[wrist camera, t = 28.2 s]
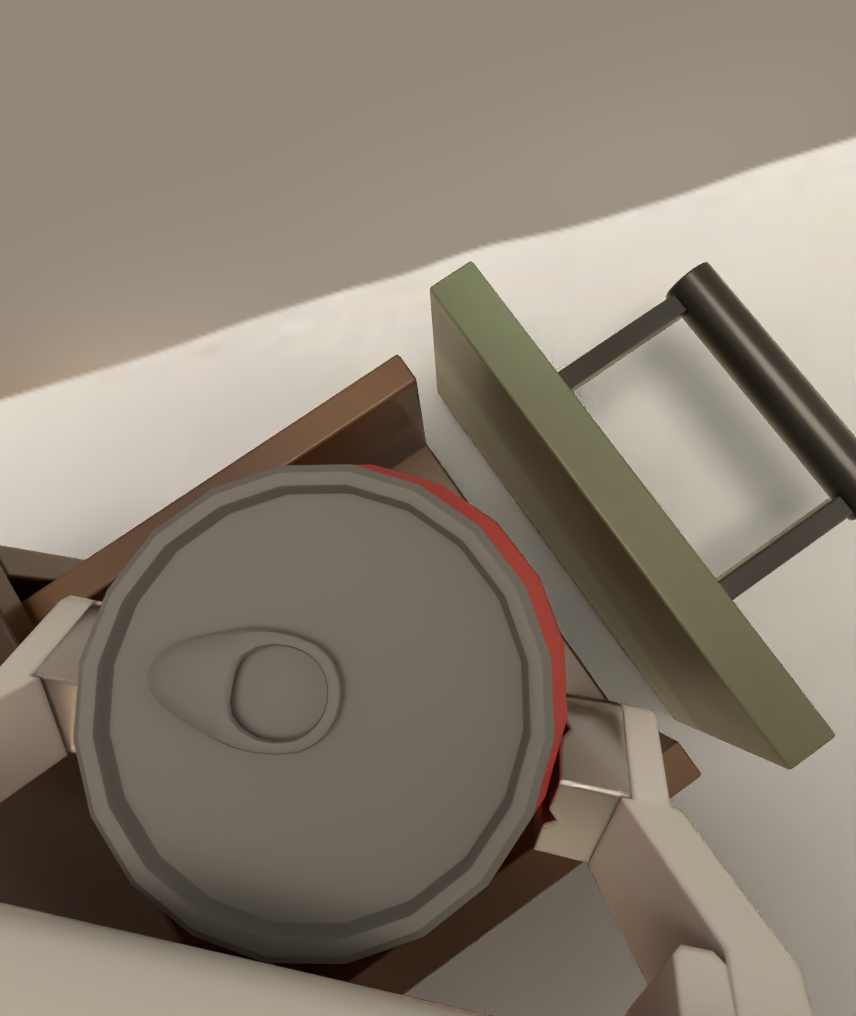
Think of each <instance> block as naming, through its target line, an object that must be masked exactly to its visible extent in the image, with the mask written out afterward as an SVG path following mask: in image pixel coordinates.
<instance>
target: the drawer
mask: <svg viewBox="0 0 856 1016" xmlns="http://www.w3.org/2000/svg"><path fill="white" fill-rule="evenodd" d="M430 297H431V311H432V324H433V338H434V351H435V365H436V378H437V391H438V394H439V395H440V396H441V398H442V399H443V401H444V402H445V403H446V405H447V406H448V407H449V409H450V410H451V412H452V413H453V414H454V416H455V417H456V418H457V420H458V421H459V423H460V424H461V425H462V427H463V428H464V430H465V431H466V432H467V434H468V435H469V436H470V438H471V439H472V441H473V442H474V443H475V445H476V446H477V447H478V449H479V450H480V452H481V453H482V454H483V456H484V457H485V458H486V460H487V461H488V463H489V464H490V465H491V467H492V468H493V470H494V471H495V472H496V474H497V475H498V476H499V478H500V479H501V481H502V482H503V483H504V485H505V486H506V487H507V489H508V490H509V492H510V493H511V494H512V496H513V497H514V498H515V500H516V501H517V503H518V504H519V505H520V507H521V508H522V510H523V511H524V512H525V514H526V515H527V516H528V518H529V519H530V521H531V522H532V523H533V525H534V526H535V527H536V529H537V530H538V532H539V533H540V534H541V536H542V537H543V539H544V540H545V541H546V543H547V544H548V545H549V547H550V548H551V550H552V551H553V552H554V554H555V555H556V556H557V558H558V559H559V561H560V562H561V563H562V565H563V566H564V567H565V569H566V570H567V572H568V573H569V574H570V576H571V577H572V579H573V580H574V581H575V583H576V584H577V585H578V587H579V588H580V590H581V591H582V592H583V594H584V595H585V596H586V598H587V599H588V601H589V602H590V603H591V605H592V606H593V608H594V609H595V610H596V612H597V613H598V614H599V616H600V617H601V619H602V620H603V621H604V623H605V624H606V625H607V627H608V628H609V630H610V631H611V632H612V634H613V635H614V636H615V638H616V639H617V641H618V642H619V643H620V645H621V646H622V648H623V649H624V650H625V652H626V653H627V654H628V656H629V657H630V659H631V660H632V661H633V663H634V664H635V665H636V667H637V668H638V670H639V671H640V672H641V674H642V675H643V676H644V678H645V679H646V681H647V682H648V683H649V685H650V686H651V688H652V689H653V690H654V692H655V693H656V694H657V696H658V697H659V699H660V700H661V701H662V703H663V704H664V705H665V707H666V708H667V710H668V711H669V712H670V714H671V715H672V717H673V718H674V719H675V720H677V721H679V722H682V723H684V724H686V725H688V726H691V727H693V728H695V729H697V730H700V731H702V732H704V733H707V734H709V735H711V736H713V737H716V738H718V739H720V740H723V741H725V742H727V743H729V744H732V745H734V746H736V747H738V748H741V749H743V750H745V751H748V752H750V753H752V754H754V755H757V756H759V757H761V758H764V759H766V760H768V761H770V762H773V763H775V764H777V765H779V766H782V767H784V768H786V769H792V768H794V767H795V766H796V765H798V764H799V763H800V762H802V761H803V760H804V759H806V758H807V757H809V756H810V755H811V754H813V753H814V752H815V751H817V750H818V749H819V748H821V747H822V746H823V745H825V744H826V743H827V742H829V741H830V740H831V739H833V738H834V737H835V734H834V732H833V731H832V730H831V728H830V727H829V726H828V724H827V723H826V722H825V720H824V719H823V718H822V717H821V715H820V714H819V713H818V711H817V710H816V709H815V707H814V706H813V705H812V704H811V702H810V701H809V700H808V698H807V697H806V696H805V694H804V693H803V692H802V690H801V689H800V688H799V687H798V685H797V684H796V683H795V681H794V680H793V679H792V677H791V676H790V675H789V674H788V672H787V671H786V670H785V668H784V667H783V666H782V664H781V663H780V662H779V661H778V659H777V658H776V657H775V655H774V654H773V653H772V651H771V650H770V649H769V647H768V646H767V645H766V644H765V642H764V641H763V640H762V638H761V637H760V636H759V634H758V633H757V632H756V631H755V629H754V628H753V627H752V625H751V624H750V623H749V621H748V620H747V619H746V618H745V616H744V615H743V614H742V612H741V611H740V610H739V608H738V607H737V606H736V604H735V603H734V602H733V601H732V600H733V599H735V598H736V597H738V596H739V595H740V594H742V593H743V592H745V591H746V590H747V589H749V588H750V587H752V586H753V585H754V584H756V583H757V582H758V581H760V580H761V579H763V578H764V577H765V576H767V575H768V574H770V573H771V572H772V571H774V570H775V569H777V568H778V567H779V566H781V565H782V564H784V563H785V562H786V561H788V560H789V559H791V558H792V557H793V556H795V555H796V554H798V553H799V552H800V551H802V550H803V549H804V548H806V547H807V546H809V545H810V544H811V543H813V542H814V541H816V540H817V539H818V538H820V537H821V536H823V535H824V534H825V533H827V532H828V531H830V530H831V529H832V528H834V527H835V526H837V525H838V524H839V523H841V522H842V521H844V520H845V519H846V518H847V519H848V520H855V519H856V437H855V436H854V434H853V433H852V432H851V431H850V430H849V429H848V427H847V426H846V425H845V424H844V423H843V421H842V420H841V419H840V418H839V417H838V416H837V414H836V413H835V412H834V411H833V410H832V408H831V407H830V406H829V405H828V404H827V403H826V401H825V400H824V399H823V398H822V397H821V395H820V394H819V393H818V392H817V391H816V390H815V388H814V387H813V386H812V385H811V384H810V382H809V381H808V380H807V379H806V378H805V377H804V375H803V374H802V373H801V372H800V371H799V369H798V368H797V367H796V366H795V365H794V363H793V362H792V361H791V360H790V359H789V358H788V356H787V355H786V354H785V353H784V352H783V350H782V349H781V348H780V347H779V346H778V345H777V343H776V342H775V341H774V340H773V339H772V337H771V336H770V335H769V334H768V333H767V332H766V330H765V329H764V328H763V327H762V326H761V324H760V323H759V322H758V321H757V320H756V319H755V317H754V316H753V315H752V314H751V313H750V311H749V310H748V309H747V308H746V307H745V306H744V304H743V303H742V302H741V301H740V300H739V298H738V297H737V296H736V295H735V294H734V292H733V291H732V290H731V289H730V288H729V287H728V285H727V284H726V283H725V282H724V281H723V279H722V278H721V277H720V276H719V275H718V274H717V272H716V271H715V270H714V269H713V268H712V266H711V265H710V264H709V263H707V262H705V263H702V264H700V265H698V266H697V267H695V268H694V269H692V270H691V271H689V272H688V273H687V274H686V275H684V276H683V277H682V278H681V279H680V280H679V281H678V282H677V283H676V284H675V285H674V286H673V287H672V288H671V289H670V290H669V292H668V293H667V295H666V298H667V299H666V300H665V301H663V302H662V303H660V304H659V305H657V306H656V307H654V308H653V309H651V310H650V311H648V312H647V313H645V314H644V315H642V316H641V317H639V318H638V319H636V320H635V321H633V322H632V323H630V324H629V325H627V326H626V327H625V328H623V329H622V330H620V331H619V332H617V333H616V334H614V335H613V336H611V337H610V338H608V339H607V340H605V341H604V342H602V343H601V344H599V345H598V346H596V347H595V348H593V349H592V350H590V351H589V352H587V353H586V354H585V355H583V356H582V357H580V358H579V359H577V360H576V361H574V362H573V363H571V364H570V365H568V366H567V367H565V368H564V369H562V370H561V371H559V372H558V373H557V371H556V370H555V369H554V367H553V366H552V365H551V363H550V362H549V361H548V360H547V358H546V357H545V356H544V354H543V353H542V352H541V350H540V349H539V348H538V346H537V345H536V344H535V343H534V341H533V340H532V339H531V337H530V336H529V335H528V333H527V332H526V331H525V330H524V328H523V327H522V326H521V324H520V323H519V322H518V320H517V319H516V318H515V317H514V315H513V314H512V313H511V311H510V310H509V309H508V307H507V306H506V305H505V303H504V302H503V301H502V300H501V298H500V297H499V296H498V294H497V293H496V292H495V290H494V289H493V288H492V287H491V285H490V284H489V283H488V281H487V280H486V279H485V277H484V276H483V275H482V274H481V272H480V271H479V270H478V268H477V267H476V266H475V264H474V263H473V262H468V263H467V264H465V265H464V266H462V267H461V268H459V269H458V270H456V271H455V272H453V273H452V274H450V275H449V276H447V277H446V278H444V279H442V280H441V281H439V282H438V283H436V284H435V285H433V286H432V287H431V288H430ZM681 317H682V318H683V319H684V320H685V322H686V323H687V324H688V325H689V327H690V328H691V329H692V330H693V331H694V333H695V334H696V335H697V336H698V338H699V339H700V340H701V341H702V342H703V344H704V345H705V346H706V347H707V348H708V350H709V351H710V352H711V353H712V355H713V356H714V357H715V358H716V359H717V361H718V362H719V363H720V364H721V366H722V367H723V368H724V369H725V370H726V372H727V373H728V374H729V375H730V376H731V378H732V379H733V380H734V381H735V383H736V384H737V385H738V386H739V387H740V389H741V390H742V391H743V392H744V394H745V395H746V396H747V397H748V398H749V400H750V401H751V402H752V403H753V404H754V406H755V407H756V408H757V409H758V411H759V412H760V413H761V414H762V415H763V417H764V418H765V419H766V420H767V422H768V423H769V424H770V425H771V426H772V428H773V429H774V430H775V431H776V432H777V434H778V435H779V436H780V437H781V439H782V440H783V441H784V442H785V443H786V445H787V446H788V447H789V448H790V450H791V451H792V452H793V453H794V454H795V456H796V457H797V458H798V459H799V460H800V462H801V463H802V464H803V465H804V467H805V468H806V469H807V470H808V471H809V473H810V474H811V475H812V476H813V478H814V479H815V480H816V481H817V482H818V484H819V485H820V486H821V487H822V488H823V490H824V491H825V492H826V493H827V495H828V496H829V497H830V499H827V500H826V501H824V502H823V503H821V504H820V505H819V506H817V507H816V508H814V509H813V510H812V511H810V512H809V513H807V514H806V515H804V516H803V517H802V518H800V519H799V520H797V521H796V522H795V523H793V524H792V525H790V526H789V527H788V528H786V529H785V530H783V531H782V532H781V533H779V534H778V535H776V536H775V537H774V538H772V539H771V540H769V541H768V542H767V543H765V544H764V545H762V546H761V547H760V548H758V549H757V550H755V551H754V552H753V553H751V554H750V555H748V556H747V557H746V558H744V559H743V560H741V561H740V562H739V563H737V564H736V565H734V566H733V567H732V568H730V569H729V570H727V571H726V572H725V573H723V574H722V575H720V576H719V577H718V578H715V577H714V576H713V575H712V573H711V572H710V571H709V569H708V568H707V567H706V565H705V564H704V563H703V561H702V560H701V559H700V558H699V556H698V555H697V554H696V552H695V551H694V550H693V548H692V547H691V546H690V545H689V543H688V542H687V541H686V539H685V538H684V537H683V535H682V534H681V533H680V532H679V530H678V529H677V528H676V526H675V525H674V524H673V522H672V521H671V520H670V518H669V517H668V516H667V515H666V513H665V512H664V511H663V509H662V508H661V507H660V505H659V504H658V503H657V502H656V500H655V499H654V498H653V496H652V495H651V494H650V492H649V491H648V490H647V489H646V487H645V486H644V485H643V483H642V482H641V481H640V479H639V478H638V477H637V475H636V474H635V473H634V472H633V470H632V469H631V468H630V466H629V465H628V464H627V462H626V461H625V460H624V459H623V457H622V456H621V455H620V453H619V452H618V451H617V449H616V448H615V447H614V446H613V444H612V443H611V442H610V440H609V439H608V438H607V436H606V435H605V434H604V432H603V431H602V430H601V429H600V427H599V426H598V425H597V423H596V422H595V421H594V419H593V418H592V417H591V416H590V414H589V413H588V412H587V410H586V409H585V408H584V406H583V405H582V404H581V403H580V401H579V400H578V399H577V397H576V396H575V395H574V393H573V391H575V390H576V389H578V388H579V387H581V386H582V385H584V384H585V383H587V382H588V381H590V380H591V379H593V378H594V377H595V376H597V375H598V374H600V373H601V372H603V371H604V370H606V369H607V368H609V367H610V366H612V365H613V364H615V363H616V362H618V361H619V360H621V359H622V358H623V357H625V356H626V355H628V354H629V353H631V352H632V351H634V350H635V349H637V348H638V347H640V346H641V345H643V344H644V343H646V342H647V341H649V340H650V339H651V338H653V337H654V336H656V335H657V334H659V333H660V332H662V331H663V330H665V329H666V328H668V327H669V326H671V325H672V324H674V323H675V322H677V321H678V320H679V319H680V318H681ZM339 464H352V465H370V464H371V465H376V466H380V467H384V468H387V469H390V470H394V471H397V472H400V473H404V474H407V475H410V476H414V477H417V478H421V479H424V480H427V481H431V482H434V483H437V484H441V485H443V486H444V487H446V488H447V489H449V490H450V491H451V492H453V493H454V494H456V495H457V496H459V497H460V498H462V499H463V500H465V501H466V502H467V503H468V501H467V500H466V499H465V497H464V496H463V494H462V493H461V492H460V490H459V489H458V487H457V486H456V485H455V483H454V482H453V480H452V479H451V478H450V476H449V475H448V473H447V472H446V470H445V469H444V468H443V466H442V465H441V463H440V462H439V461H438V459H437V458H436V456H435V455H434V454H433V452H432V451H431V449H430V448H429V447H428V445H427V444H426V439H425V433H424V426H423V420H422V414H421V407H420V401H419V395H418V388H417V382H416V378H415V376H414V375H413V374H412V372H411V371H410V369H409V368H408V367H407V365H406V364H405V363H404V361H403V360H402V358H401V357H400V356H399V355H395V356H394V357H392V358H391V359H389V360H388V361H386V362H385V363H383V364H382V365H380V366H379V367H377V368H376V369H374V370H373V371H371V372H370V373H368V374H367V375H365V376H364V377H362V378H361V379H359V380H358V381H356V382H355V383H353V384H351V385H350V386H348V387H347V388H345V389H344V390H342V391H341V392H339V393H338V394H336V395H335V396H333V397H332V398H330V399H329V400H327V401H326V402H324V403H323V404H321V405H320V406H318V407H317V408H315V409H314V410H312V411H311V412H309V413H308V414H306V415H305V416H303V417H301V418H300V419H298V420H297V421H295V422H294V423H292V424H291V425H289V426H288V427H286V428H285V429H283V430H282V431H280V432H279V433H277V434H276V435H274V436H273V437H271V438H270V439H268V440H267V441H265V442H264V443H262V444H261V445H259V446H258V447H256V448H255V449H253V450H251V451H250V452H248V453H247V454H245V455H244V456H242V457H241V458H239V459H238V460H236V461H235V462H233V463H232V464H230V465H229V466H227V467H226V468H224V469H223V470H221V471H220V472H218V473H217V474H215V475H214V476H212V477H211V478H209V479H208V480H206V481H204V482H203V483H201V484H200V485H198V486H197V487H195V488H194V489H192V490H191V491H189V492H188V493H186V494H185V495H183V496H182V497H180V498H179V499H177V500H176V501H174V502H173V503H171V504H170V505H168V506H167V507H165V508H164V509H162V510H161V511H159V512H158V513H156V514H154V515H153V516H151V517H150V518H148V519H147V520H145V521H144V522H142V523H141V524H139V525H138V526H136V527H135V528H133V529H132V530H130V531H129V532H127V533H126V534H124V535H123V536H121V537H120V538H118V539H117V540H115V541H114V542H112V543H111V544H109V545H108V546H106V547H104V548H103V549H101V550H100V551H98V552H97V553H95V554H94V555H92V556H91V557H89V558H88V559H86V560H85V561H83V562H82V563H80V564H79V565H77V566H76V567H74V568H73V569H71V570H70V571H68V572H67V573H65V574H64V575H62V576H61V577H59V578H58V579H56V580H54V581H53V582H51V583H50V584H48V585H47V586H45V587H44V588H42V589H41V590H39V591H38V592H36V593H35V594H33V595H32V596H30V597H29V598H27V599H26V600H24V601H23V602H21V603H22V605H23V607H24V609H25V611H26V612H27V614H28V616H29V618H30V620H31V621H32V623H33V625H34V627H36V626H37V625H38V624H39V623H40V622H41V621H42V620H43V619H44V617H45V616H46V615H47V614H48V613H49V612H50V611H51V610H52V609H53V608H54V606H55V605H56V604H57V603H58V602H59V601H60V600H62V599H64V598H66V597H68V596H70V595H72V596H77V597H81V598H86V599H91V600H96V601H101V602H103V599H104V597H105V594H106V591H107V590H108V588H109V587H110V586H111V584H112V583H113V582H114V581H115V579H116V578H117V577H118V575H119V574H120V573H121V572H122V570H123V569H124V568H125V566H126V565H127V564H128V562H129V561H130V560H131V559H132V557H133V556H134V555H135V553H136V552H137V551H138V550H139V548H140V547H141V546H142V544H143V543H144V542H145V541H146V539H147V538H148V537H149V535H150V534H151V533H152V531H154V530H155V529H156V528H158V527H159V526H161V525H162V524H163V523H165V522H166V521H168V520H169V519H170V518H172V517H173V516H175V515H176V514H177V513H179V512H180V511H182V510H183V509H184V508H186V507H187V506H189V505H190V504H191V503H193V502H194V501H196V500H197V499H198V498H200V497H201V496H203V495H204V494H205V493H207V492H208V491H210V490H211V489H212V488H215V487H218V486H221V485H224V484H227V483H230V482H233V481H236V480H239V479H242V478H245V477H248V476H251V475H254V474H257V473H260V472H263V471H266V470H269V469H272V468H275V467H278V466H289V465H339ZM559 632H560V631H559ZM560 635H561V637H562V640H563V643H564V654H565V676H566V693H569V694H574V695H580V696H585V697H591V698H596V699H602V700H607V701H609V700H608V699H607V697H606V696H605V695H604V693H603V692H602V690H601V689H600V687H599V686H598V685H597V683H596V682H595V680H594V679H593V678H592V676H591V675H590V673H589V672H588V671H587V669H586V668H585V666H584V665H583V664H582V662H581V661H580V659H579V658H578V656H577V655H576V654H575V652H574V651H573V649H572V648H571V647H570V645H569V644H568V642H567V641H566V640H565V638H564V637H563V635H562V634H561V633H560ZM659 737H660V744H661V750H662V756H663V763H664V769H665V775H666V782H667V788H668V795H669V799H670V798H671V797H673V796H674V795H675V794H677V793H678V792H680V791H681V790H682V789H684V788H685V787H686V786H688V785H689V784H690V783H692V782H693V781H695V780H696V779H697V778H699V777H700V776H701V773H700V771H699V770H698V769H697V767H696V766H695V764H694V763H693V762H692V760H691V759H690V757H689V756H688V755H687V753H686V752H685V750H684V749H683V748H682V746H681V745H680V744H679V742H677V741H675V740H673V739H671V738H670V737H668V736H666V735H664V734H662V733H660V732H659ZM582 863H583V861H579V860H575V859H570V858H566V857H562V856H558V855H554V854H550V853H545V852H541V851H537V850H534V815H533V817H532V819H531V820H530V822H529V823H528V825H527V826H526V828H525V829H524V831H523V832H522V834H521V835H520V837H519V839H518V840H517V842H516V843H515V845H514V846H513V848H512V849H511V851H510V852H509V854H508V855H507V857H506V859H505V860H504V862H503V863H502V865H501V866H500V868H499V869H498V871H497V872H496V874H495V875H494V877H493V879H492V880H491V882H490V883H489V885H488V886H487V887H485V888H484V889H483V890H482V891H480V892H479V893H478V894H477V895H475V896H474V897H473V898H472V899H470V900H469V901H468V902H467V903H465V904H464V905H463V906H462V907H460V908H459V909H458V910H457V911H455V912H454V913H453V914H452V915H450V916H449V917H448V918H447V919H445V920H444V921H443V922H442V923H440V924H439V925H438V926H437V927H435V928H434V929H433V930H431V931H430V932H429V933H428V934H426V935H425V936H424V937H422V938H419V939H416V940H413V941H410V942H408V943H405V944H402V945H399V946H396V947H393V948H390V949H388V950H385V951H382V952H379V953H376V954H373V955H371V956H368V957H365V958H362V959H359V960H356V961H353V962H351V963H348V964H293V963H266V964H271V965H275V966H279V967H284V968H288V969H292V970H297V971H301V972H305V973H310V974H314V975H318V976H323V977H327V978H331V979H336V980H340V981H344V982H349V983H353V984H357V985H362V986H366V987H370V988H375V989H379V990H383V991H388V992H392V993H396V994H401V995H404V994H405V993H406V992H408V991H409V990H410V989H412V988H413V987H415V986H416V985H417V984H419V983H420V982H421V981H423V980H424V979H425V978H427V977H428V976H429V975H431V974H432V973H434V972H435V971H436V970H438V969H439V968H440V967H442V966H443V965H444V964H446V963H447V962H448V961H450V960H451V959H453V958H454V957H455V956H457V955H458V954H459V953H461V952H462V951H463V950H465V949H466V948H468V947H469V946H470V945H472V944H473V943H474V942H476V941H477V940H478V939H480V938H481V937H482V936H484V935H485V934H487V933H488V932H489V931H491V930H492V929H493V928H495V927H496V926H497V925H499V924H500V923H502V922H503V921H504V920H506V919H507V918H508V917H510V916H511V915H512V914H514V913H515V912H516V911H518V910H519V909H521V908H522V907H523V906H525V905H526V904H527V903H529V902H530V901H531V900H533V899H534V898H535V897H537V896H538V895H540V894H541V893H542V892H544V891H545V890H546V889H548V888H549V887H550V886H552V885H553V884H555V883H556V882H557V881H559V880H560V879H561V878H563V877H564V876H565V875H567V874H568V873H569V872H571V871H572V870H574V869H575V868H576V867H578V866H579V865H580V864H582ZM210 943H211V942H210ZM211 945H212V947H213V949H214V950H215V952H219V953H223V954H227V955H232V956H236V957H240V958H245V959H249V960H253V961H258V962H261V961H259V960H256V959H253V958H251V957H248V956H245V955H243V954H240V953H237V952H235V951H232V950H229V949H227V948H224V947H221V946H219V945H216V944H213V943H211ZM262 963H264V962H262Z"/></svg>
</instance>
